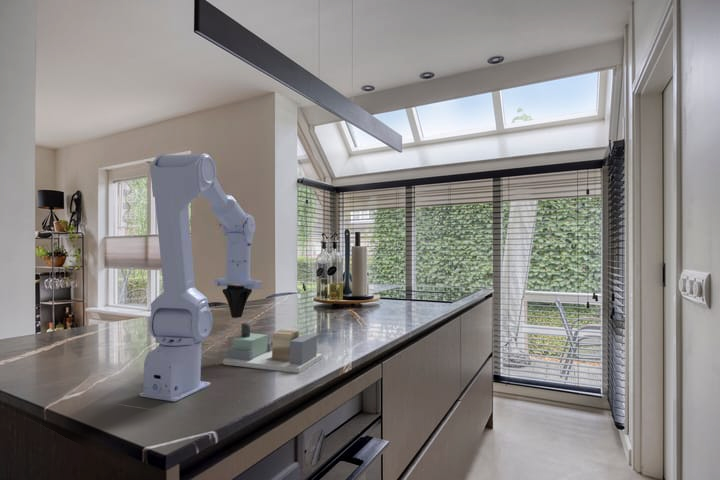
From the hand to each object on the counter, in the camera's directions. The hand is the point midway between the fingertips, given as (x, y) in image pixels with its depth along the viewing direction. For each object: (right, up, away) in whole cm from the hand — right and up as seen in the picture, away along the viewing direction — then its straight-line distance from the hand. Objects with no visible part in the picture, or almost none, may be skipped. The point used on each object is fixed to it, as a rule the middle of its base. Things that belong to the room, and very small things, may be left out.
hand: (236, 317), depth 98 cm
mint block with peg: (+4, -8, -2) cm, 9 cm away
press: (+10, -10, -3) cm, 14 cm away
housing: (+13, -9, -4) cm, 16 cm away
